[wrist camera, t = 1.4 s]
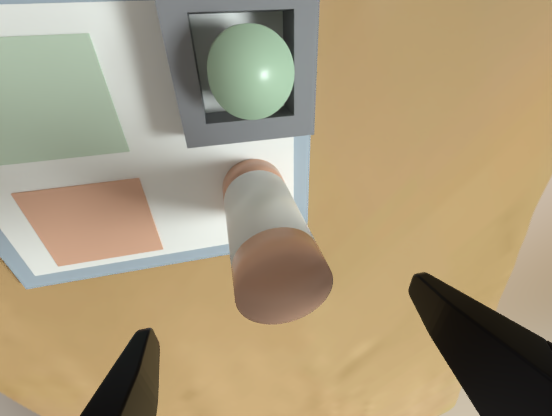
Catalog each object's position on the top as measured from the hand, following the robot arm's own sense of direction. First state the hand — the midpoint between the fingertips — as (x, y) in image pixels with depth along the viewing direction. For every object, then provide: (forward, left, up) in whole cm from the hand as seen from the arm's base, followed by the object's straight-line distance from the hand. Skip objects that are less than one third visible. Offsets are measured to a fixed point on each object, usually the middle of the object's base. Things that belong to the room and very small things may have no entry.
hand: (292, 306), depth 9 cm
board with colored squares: (+6, -2, -9) cm, 11 cm away
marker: (0, 0, -9) cm, 9 cm away
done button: (0, -6, -7) cm, 10 cm away
